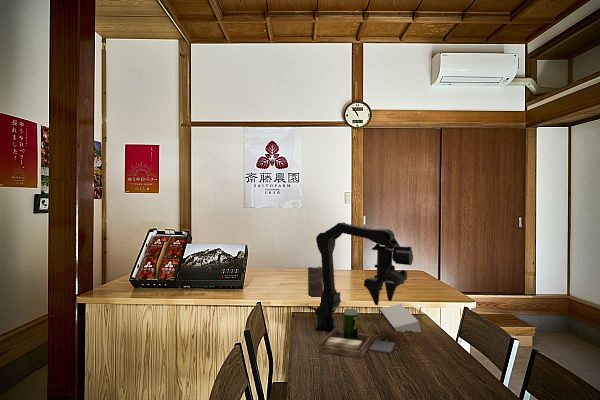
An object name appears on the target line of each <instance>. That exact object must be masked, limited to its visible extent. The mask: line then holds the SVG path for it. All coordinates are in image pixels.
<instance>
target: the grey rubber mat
mask: <svg viewBox="0 0 600 400" xmlns="http://www.w3.org/2000/svg"><path fill="white" fill-rule="evenodd" d="M395 346H396V342H392V341H391V342H390V341H384V340H375V339H374V342H373V343H372V345H371V346H370V348H369V349H368V351H371V352H377V353H383V354H384V353H385V354H392V352H393V350H394V348H395Z"/></svg>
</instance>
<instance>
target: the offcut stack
mask: <svg viewBox="0 0 600 400" xmlns="http://www.w3.org/2000/svg"><path fill="white" fill-rule="evenodd" d="M362 346H363V340H350V339H343V338H342V337H336V338H335V337H330V338H329V339H328V340H327V341H326V343H325V347H332V348H340V349H347V350H354V351H360V348H361V347H362Z"/></svg>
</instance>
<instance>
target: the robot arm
mask: <svg viewBox="0 0 600 400" xmlns="http://www.w3.org/2000/svg"><path fill="white" fill-rule="evenodd" d="M343 234H345V235H349V236H354V237H360V238H362V239H367V240H369V241H371V242H373V243H375V246H373V247H372V248H371V250H372V251H376V253H377V255H376V263H375V264H374V268H376V274H375V275H374V276H373V277H369V278H365V279H364V281H363V287H365V288H366V289H367V291H368V292H369V294H370V296H371V299H372V301H373V303H374V305H375V306H379V302H380V293H381V292H382V290H384V288H383V286H385V291H386V297H387V300H388V302H392V301H393V300H392V299H393V297H394V295H395V292H396V289H397V287H399V286H401V285H404V284H405V281H407V280H408V273H407V270H405V269H401V270H400V271H399V270H396V267H395V265H393V263H395V264H396V265H405V266H412V264H413V261H414V255H413V254H414V252H413V249H412V248H413V247H412V246H402V245H401V246H400V244H399V242H398V240H396V237H395V233H394V231H393V230H391V229H387V228H385V229H384V228H376V229H375V228H367V227H363V226H359V225H354V224H351V223H350V224H349V223H346V222H338V223H336V224H335V225H334V226H332V227H331V228H329V229H327V230H326V231H324V232H320V233H318V235H317V236H316V238H315V241H316V242H315V243H316V245H317V250H318V251H319V253H320V256H321V267H322V274H323V292H322V296H321V303H320V306H319V307H318V308H317V309H314V313H315V316H316V317H317V318H316V319H317V320H316V325H317V326H316V328H315V330H317V331H324V332H332V331H333V330H334V329H335V328H336V317H335V312H336V310H337V309H338V308H339V306H340V304H341V303H342V299H341V292H337V290H336V285H335V284H336V283H335V271H334V269H335V268H334V255H333V254H334V251H335V246H336V240H337V239H339V238H340V237H341V236H342V235H343Z"/></svg>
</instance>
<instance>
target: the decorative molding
mask: <svg viewBox="0 0 600 400" xmlns="http://www.w3.org/2000/svg"><path fill="white" fill-rule="evenodd" d="M378 309H379V311H380V312H381V313H382V314H383V316H384V317H385V319H386V320H387V321H388V323H389V324H390V325H391V327H392V328H393V330H394V331H395V332H396V333H398V332H401V333H406V332H407V333H408V332H414V333H421V332H422V330H421V326H420V322H419V320H418V319H417V318H416V317H415V316H414V315H413V314H412V313H411V312H410V311H409V310H408V309H407V308H406V307H405V306H404V305H403V304H402V303H401V304H399V305H395V306H390V307H382V308H379V307H378Z"/></svg>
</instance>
